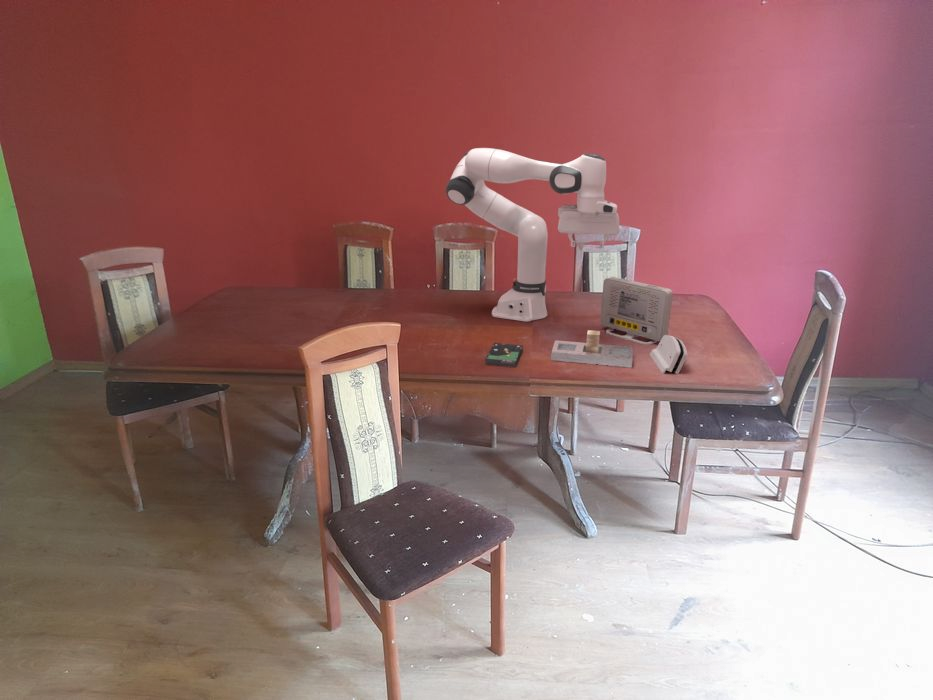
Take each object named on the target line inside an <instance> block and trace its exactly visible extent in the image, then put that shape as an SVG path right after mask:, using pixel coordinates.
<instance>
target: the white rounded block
mask: <svg viewBox="0 0 933 700" xmlns="http://www.w3.org/2000/svg"><path fill="white" fill-rule="evenodd" d="M649 356H650V357H651V359H652V360H653V362H654V363H655V365H656V366H657V368H658V369H659V371H660V372H661V374H665V373H666V371H668V372H669V373H672V372H673V373H674V374H676V375H679V374H680V371H681V370H682V368H683V365H684V363H685V362H686V359H687V357H688V351H687V347H686V345H685V344H684V342H683V341H682V340H681V339H679V338H678V337H677V336H672V335H664V336H663V338H662V339H661V340H660V341H659V343H658V344H657V346H656V348H652V349H651V351H650V352H649Z"/></svg>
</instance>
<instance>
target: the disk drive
mask: <svg viewBox="0 0 933 700" xmlns="http://www.w3.org/2000/svg"><path fill="white" fill-rule="evenodd" d="M523 351H524V345H523V344H515V343H514V344H513V343H506V344H501V343H500V342H493V344H492V346H491V348H490V350H489V352H488V354H487V355H486V357H485V365H487V366H497V367H507V368H517V366H518V364H519V361H520V359H521V356H522V354H523Z"/></svg>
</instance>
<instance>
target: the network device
mask: <svg viewBox="0 0 933 700" xmlns="http://www.w3.org/2000/svg"><path fill="white" fill-rule="evenodd" d="M673 297H674V292H673V290H672V289H671V288H667V287H662V286H657V285H655V284H654V285H653V284H649V283H644V282H639V281H635V280H629V279H625V278H620V277H616V276H611V277H607V278H604V280H603V287H602V297H601V308H600V319H599V321H600V324H601V325H602V326H604V327H607V329H606V330H605V334H607V333H608V334H610V335H609V336H611V335H614V336H613V337H615V336H616V337H615V338H618V337H619V338H618V339H622V338H623V339H622V340H626V341H629V340H630V342H632V341H633V343H635V342H636V344H639V343H640V345H642V344H644V345H643V346H651V344H652V345H654V344H656V343H658V342H660V341H661V339H662V338H663V336H664V335H668V334H669V327H670V319H671V312H672V304H673ZM614 329H616V330H619V331H621V332H624V333H625V332H626V334H625V335H620V334H617V333H613V331H615V330H614ZM612 330H613V331H612ZM609 331H611V332H609ZM608 334H607V335H608ZM637 337H643V338H645V339H650V341H647V342H646V341H641V340H637V339H635V338H637ZM632 338H633V339H632ZM657 341H658V342H657Z"/></svg>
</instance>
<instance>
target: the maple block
mask: <svg viewBox="0 0 933 700" xmlns="http://www.w3.org/2000/svg"><path fill="white" fill-rule="evenodd" d="M586 334H587V335H586V342H585V343H586V352H590V353H598V349H599V344H600V335H601V330H589V329H587V333H586Z"/></svg>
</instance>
